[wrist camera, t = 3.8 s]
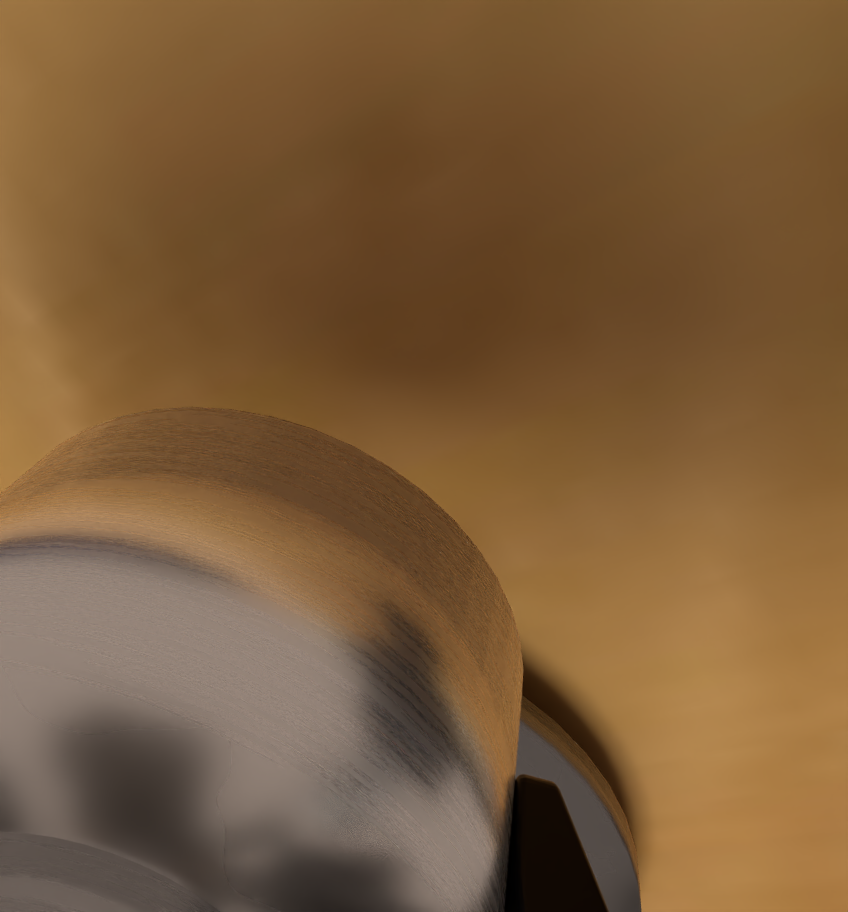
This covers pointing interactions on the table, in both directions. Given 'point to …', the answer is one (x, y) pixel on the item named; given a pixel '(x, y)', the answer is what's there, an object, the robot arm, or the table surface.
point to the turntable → (583, 804)
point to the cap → (247, 679)
